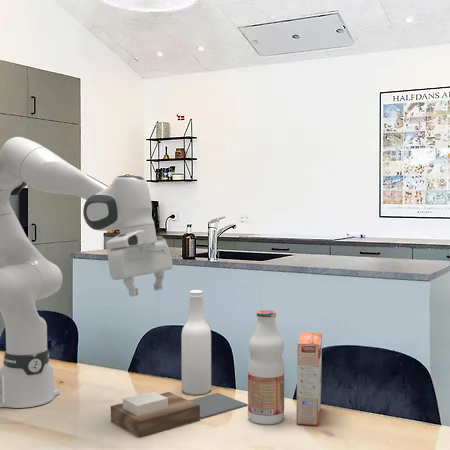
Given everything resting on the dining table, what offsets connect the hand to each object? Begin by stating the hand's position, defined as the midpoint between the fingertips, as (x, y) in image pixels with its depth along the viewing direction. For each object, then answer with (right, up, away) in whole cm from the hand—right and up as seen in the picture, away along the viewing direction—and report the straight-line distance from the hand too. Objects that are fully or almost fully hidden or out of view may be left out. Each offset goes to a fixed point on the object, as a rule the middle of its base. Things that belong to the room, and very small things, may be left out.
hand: (146, 292), depth 149 cm
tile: (-1, -29, +2) cm, 29 cm away
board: (+2, -33, +4) cm, 34 cm away
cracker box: (+42, -33, +7) cm, 54 cm away
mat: (+16, -33, +15) cm, 39 cm away
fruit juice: (+30, -33, +5) cm, 45 cm away
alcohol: (+11, -33, +28) cm, 45 cm away
